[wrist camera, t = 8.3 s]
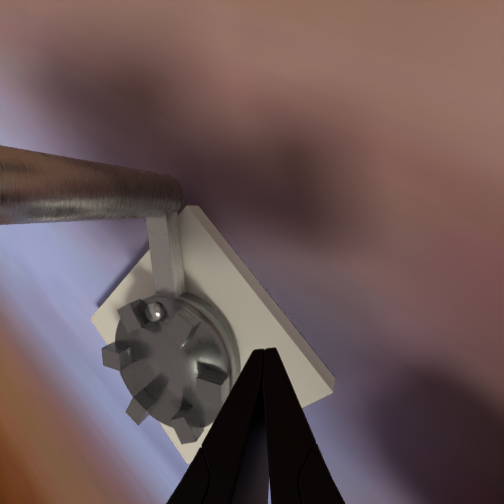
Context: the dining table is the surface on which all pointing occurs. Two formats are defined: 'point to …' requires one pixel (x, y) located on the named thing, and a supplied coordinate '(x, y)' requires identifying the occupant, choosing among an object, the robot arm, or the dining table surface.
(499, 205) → the dining table surface
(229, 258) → the base plate
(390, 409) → the dining table surface
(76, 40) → the dining table surface
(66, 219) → the grey l-shaped piece
